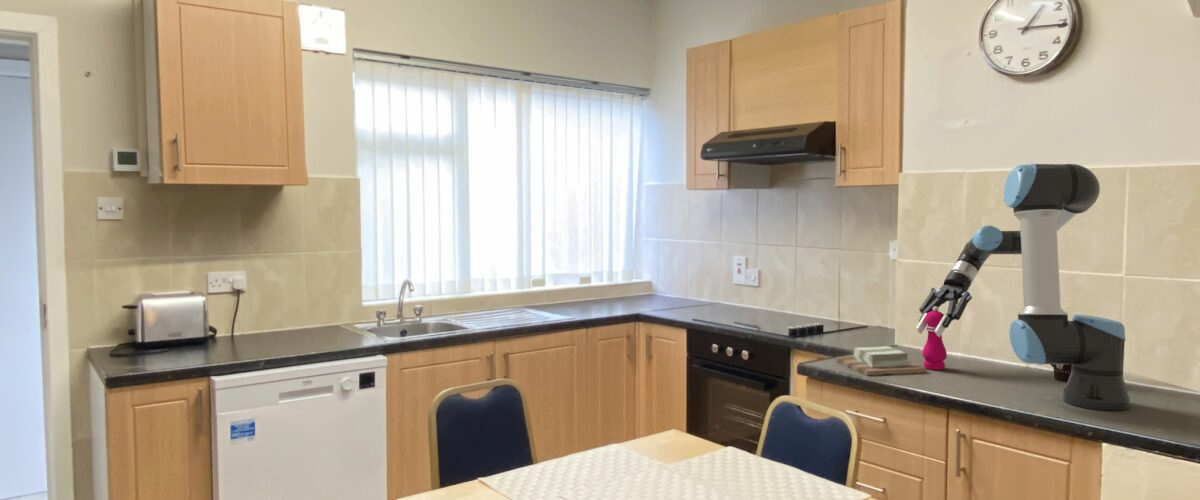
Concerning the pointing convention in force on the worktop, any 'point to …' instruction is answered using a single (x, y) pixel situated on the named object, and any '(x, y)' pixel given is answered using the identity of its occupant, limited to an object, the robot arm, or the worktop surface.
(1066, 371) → the coffee mug
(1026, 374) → the worktop surface
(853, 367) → the base
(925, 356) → the pepper mill
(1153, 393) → the worktop surface
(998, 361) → the worktop surface
